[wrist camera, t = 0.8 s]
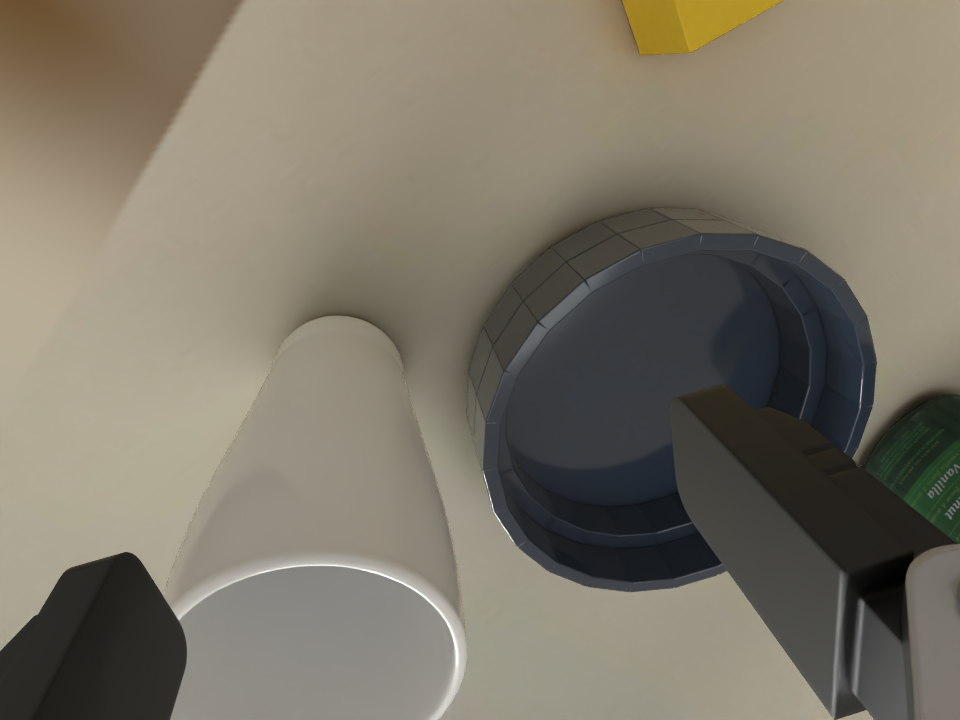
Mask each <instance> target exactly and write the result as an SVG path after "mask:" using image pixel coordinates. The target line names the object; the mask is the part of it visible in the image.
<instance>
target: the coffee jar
mask: <svg viewBox="0 0 960 720" xmlns="http://www.w3.org/2000/svg"><path fill="white" fill-rule="evenodd" d="M864 469H865V470H866V471H868V472H869V473H870V474H871V475H873V476H874V477H875V478H876V479H878V480H879V481H880V482H881V483H883V484H884V485H885V486H886V487H887V488H889V489H890V490H891V491H892V492H894V493H895V494H896V495H897V496H899V497H900V498H901V499H902V500H904V501H905V502H906V503H907V504H909V505H910V506H911V507H912V508H914V509H915V510H916V511H917V512H919V513H920V514H921V515H922V516H923V517H925V518H926V519H927V520H928V521H930V522H931V523H932V524H933V525H935V526H936V527H937V528H938V529H940V530H941V531H942V532H943V533H945V534H946V535H947V536H948V537H950V538H951V539H952V540H953V541H955V542H956V543H957V544H960V395H942V396H940V397H937V398H935V399H932V400H930V401H928V402H926V403H924V404H922V405H921V406H919V407H918V408H917V409H915V410H914V411H912V412H911V413H909V414H908V415H906V416H904V417H903V418H902V419H901V420H900V421H898V422H897V423H896V424H895V425H894V426H892V427H891V429H890V430H889V431H887V432H886V434H885V435H884V436H883V438H882V439H881V440H880V441H879V443H878V444H877V445H876V447H875V448H874V450H873V452H872V454H871V456H870V458H869V460H868V462H867V464H866V466H865V468H864Z"/></svg>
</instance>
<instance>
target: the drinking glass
mask: <svg viewBox="0 0 960 720" xmlns="http://www.w3.org/2000/svg"><path fill="white" fill-rule="evenodd" d="M163 597H164V598H165V600H166V601H167V603H168V604H169V606H170V608H171V609H172V611H173V612H174V614H175V615H176V617H177V618H178V620H179V622H180V624H181V625H182V628H183V630H184V634H185V638H186V644H187V662H186V668H185V672H184V675H183V678H182V682H181V685H180V688H179V692H178V695H177V698H176V702H175V705H174V708H173V712H172V715H171V718H170V720H438V719H439V718H440V717H441V716H442V715H443V714H444V713H445V711H446V710H447V709H448V707H449V706H450V705H451V703H452V701H453V700H454V698H455V697H456V695H457V693H458V690H459V688H460V686H461V684H462V681H463V678H464V675H465V670H466V665H467V654H468V650H467V638H466V632H465V623H464V613H463V604H462V595H461V588H460V580H459V574H458V567H457V562H456V556H455V550H454V545H453V540H452V535H451V530H450V526H449V522H448V517H447V513H446V510H445V506H444V502H443V499H442V496H441V492H440V489H439V486H438V483H437V479H436V476H435V473H434V470H433V467H432V464H431V461H430V458H429V455H428V452H427V449H426V446H425V442H424V439H423V436H422V433H421V430H420V427H419V424H418V421H417V417H416V414H415V411H414V408H413V405H412V401H411V398H410V395H409V391H408V388H407V385H406V381H405V373H404V367H403V362H402V359H401V356H400V354H399V352H398V350H397V348H396V346H395V345H394V343H393V342H392V341H391V339H390V338H389V337H388V336H387V335H386V334H385V333H384V332H383V331H381V330H380V329H379V328H377V327H376V326H374V325H373V324H371V323H369V322H367V321H364V320H361V319H358V318H355V317H350V316H326V317H321V318H317V319H314V320H311V321H309V322H307V323H305V324H303V325H301V326H300V327H298V328H297V329H295V330H294V331H293V332H292V333H291V334H290V335H289V336H288V337H287V338H286V339H285V340H284V341H283V343H282V344H281V346H280V347H279V349H278V351H277V353H276V355H275V358H274V361H273V364H272V367H271V370H270V372H269V374H268V376H267V378H266V380H265V382H264V384H263V386H262V387H261V389H260V391H259V393H258V395H257V397H256V399H255V400H254V402H253V404H252V406H251V408H250V410H249V411H248V413H247V415H246V417H245V419H244V421H243V422H242V424H241V426H240V428H239V430H238V431H237V433H236V435H235V437H234V439H233V440H232V442H231V444H230V446H229V448H228V449H227V451H226V453H225V455H224V457H223V459H222V460H221V462H220V464H219V466H218V468H217V469H216V471H215V473H214V475H213V477H212V479H211V481H210V483H209V484H208V486H207V488H206V490H205V492H204V494H203V496H202V498H201V500H200V502H199V504H198V506H197V508H196V510H195V513H194V515H193V517H192V519H191V521H190V524H189V526H188V528H187V531H186V533H185V536H184V538H183V541H182V543H181V546H180V548H179V551H178V554H177V556H176V559H175V562H174V564H173V567H172V570H171V573H170V575H169V578H168V581H167V584H166V587H165V590H164V593H163Z"/></svg>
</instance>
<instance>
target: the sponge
mask: <svg viewBox="0 0 960 720" xmlns="http://www.w3.org/2000/svg"><path fill="white" fill-rule="evenodd" d="M782 1H783V0H622V2H623V5H624V8H625V11H626V14H627V17H628V20H629V23H630V26H631V28H632V31H633V34H634V37H635V40H636V43H637V46H638V49H639V52H640V55H655V54H674V53H691V52H693V51H695V50H696V49H698V48H700V47H702V46H704V45H705V44H707V43H709V42H711V41H712V40H714V39H716V38H718V37H720V36H721V35H723V34H725V33H727V32H728V31H730V30H732V29H734V28H735V27H737V26H739V25H741V24H743V23H744V22H746V21H748V20H750V19H751V18H753V17H755V16H757V15H759V14H760V13H762V12H764V11H766V10H767V9H769V8H771V7H773V6H775V5H776V4H778V3H780V2H782Z"/></svg>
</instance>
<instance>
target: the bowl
mask: <svg viewBox="0 0 960 720" xmlns="http://www.w3.org/2000/svg"><path fill="white" fill-rule="evenodd" d="M876 366H877V361H876V354H875V349H874V345H873V340H872V335H871V331H870V326H869V322H868V318H867V315H866V313H865V312H864V310H863V308H862V307H861V305H860V304H859V302H858V300H857V299H856V297H855V295H854V294H853V292H852V291H851V289H850V287H849V286H848V284H847V283H846V281H845V279H843V278H842V277H841V276H840V275H839V274H837V273H836V272H835V271H833V270H832V269H831V268H830V267H828V266H827V265H826V264H824V263H823V262H822V261H820V260H819V259H818V258H817V257H815V256H814V255H813V254H811V253H810V252H809V251H807V250H805V249H803V248H801V247H799V246H796V245H794V244H791V243H789V242H786V241H784V240H781V239H779V238H777V237H774V236H772V235H769V234H767V233H764V232H762V231H760V230H757V229H755V228H752V227H750V226H747V225H745V224H742V223H740V222H737V221H734V220H731V219H728V218H725V217H722V216H719V215H716V214H712V213H709V212H706V211H703V210H700V209H678V208H650V209H643V210H639V211H636V212H632V213H628V214H624V215H620V216H616V217H612V218H609V219H605V220H601V221H599V222H596V223H594V224H592V225H590V226H588V227H586V228H585V229H583V230H581V231H579V232H577V233H576V234H574V235H572V236H570V237H568V238H567V239H565V240H563V241H561V242H559V243H557V244H556V245H554V246H552V248H549V249H548V250H547V251H546V252H545V253H544V254H542V255H541V256H540V257H539V258H538V259H537V260H536V261H535V262H534V263H533V264H532V265H531V266H529V267H528V268H527V269H526V270H525V271H524V272H523V273H522V274H521V275H520V276H519V277H518V278H516V279H515V280H514V281H513V282H512V284H511V285H510V287H509V288H508V290H507V291H506V293H505V294H504V296H503V297H502V299H501V300H500V302H499V303H498V305H497V306H496V308H495V309H494V311H493V312H492V314H491V315H490V317H489V319H488V320H487V322H486V323H485V326H483V328H482V331H481V334H480V337H479V340H478V343H477V346H476V349H475V352H474V355H473V358H472V361H471V364H470V367H469V372H468V391H467V418H468V422H469V426H470V430H471V433H472V437H473V441H474V445H475V449H476V452H477V456H478V459H479V463H480V466H481V470H482V473H483V477H484V480H485V484H486V487H487V491H488V495H489V498H490V502H491V505H492V509H493V511H494V514H495V515H496V517H497V518H498V520H499V521H500V523H501V524H502V526H503V527H504V529H505V530H506V532H507V533H508V535H509V536H510V538H511V539H512V541H513V542H514V544H515V545H516V546H517V547H518V548H519V549H520V550H522V551H523V552H524V553H526V554H527V555H528V556H529V557H531V558H532V559H533V560H534V561H536V562H537V563H538V564H540V565H541V566H542V567H543V568H545V569H546V570H547V571H549V572H551V573H553V574H556V575H558V576H561V577H563V578H566V579H568V580H571V581H574V582H576V583H579V584H581V585H584V586H588V587H592V588H600V589H608V590H616V591H624V592H629V591H630V592H638V591H648V590H659V589H670V588H676V587H680V586H683V585H686V584H690V583H693V582H697V581H700V580H703V579H707V578H710V577H713V576H717V575H718V574H721V573H723V572H725V571H727V570H726V568H725V567H724V565H723V564H722V563H721V561H720V560H719V558H718V557H717V556H716V554H715V553H714V551H713V550H712V549H711V547H710V546H709V545H708V543H707V542H706V540H705V539H704V538H703V536H702V535H701V533H700V532H699V531H698V529H697V528H696V526H695V525H694V524H693V522H692V521H691V519H690V518H689V516H688V514H687V512H686V510H685V508H684V506H683V503H682V501H681V498H680V495H679V492H678V488H677V483H676V475H675V465H674V454H673V444H672V433H671V422H670V410H669V408H670V402H671V399H672V398H674V397H678V396H681V395H685V394H688V393H692V392H695V391H699V390H702V389H706V388H709V387H713V386H716V385H720V384H723V385H726V386H727V387H729V388H730V389H731V390H732V391H733V392H734V393H736V394H737V395H738V396H739V397H740V398H741V399H742V400H744V401H745V402H746V403H747V404H748V405H749V406H750V407H751V408H753V409H754V410H758V409H761V408H765V407H768V406H769V407H771V408H774V409H776V410H779V411H781V412H784V413H786V414H789V415H791V416H794V417H796V418H799V419H801V420H804V421H806V422H807V423H808V424H809V425H811V426H812V427H813V428H814V429H815V430H817V431H818V432H819V433H820V434H822V435H823V436H824V437H825V438H827V439H828V440H829V441H830V442H832V446H833V447H834V448H836V447H838V448H839V449H840V450H842V451H843V452H844V453H845V454H847V455H848V456H849V457H850V458H851V459H852V457H853V455H854V454H855V452H856V450H857V448H858V446H859V443H860V441H861V438H862V435H863V432H864V429H865V427H866V424H867V421H868V418H869V415H870V412H871V410H872V405H873V400H874V389H875V377H876Z"/></svg>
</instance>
